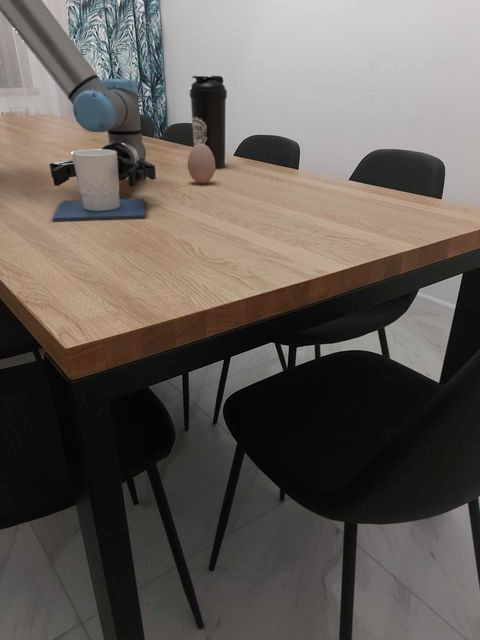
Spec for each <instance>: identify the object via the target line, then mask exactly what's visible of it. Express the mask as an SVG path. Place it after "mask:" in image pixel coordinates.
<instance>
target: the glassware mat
mask: <svg viewBox="0 0 480 640" xmlns="http://www.w3.org/2000/svg"><path fill="white" fill-rule="evenodd" d="M119 200H120V207H119V208H117V209H114V210H109V211H89V210H86V209H84V207H83V202H82V199H75V200H74V199H73V200H62V201H61V203H60V205H59V206H58V208H57V210H56V211H55V213H54V215H53V216H52V221H53V222H70V221H71V222H73V221H74V222H75V221H101V220H103V221H105V220H131V219H132V220H133V219H134V220H135V219H145V218H146V209H145V206H146V205H145V198H119Z"/></svg>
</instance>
